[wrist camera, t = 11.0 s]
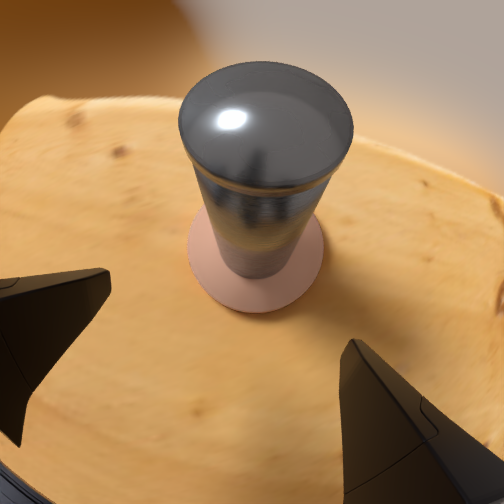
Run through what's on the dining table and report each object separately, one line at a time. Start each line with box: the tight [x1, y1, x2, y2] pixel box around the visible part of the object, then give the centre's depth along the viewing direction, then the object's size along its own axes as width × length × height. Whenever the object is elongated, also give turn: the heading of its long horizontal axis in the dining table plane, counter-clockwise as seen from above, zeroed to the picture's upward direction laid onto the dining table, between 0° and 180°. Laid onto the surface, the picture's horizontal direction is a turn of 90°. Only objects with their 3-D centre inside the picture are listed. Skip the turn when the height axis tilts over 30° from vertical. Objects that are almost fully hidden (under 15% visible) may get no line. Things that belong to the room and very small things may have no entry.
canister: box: [178, 61, 354, 279], centre depth 13 cm, size 5×5×12 cm
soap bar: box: [187, 204, 324, 313], centre depth 19 cm, size 9×9×1 cm
